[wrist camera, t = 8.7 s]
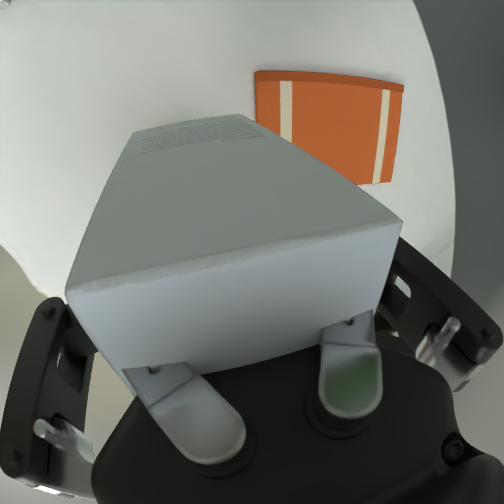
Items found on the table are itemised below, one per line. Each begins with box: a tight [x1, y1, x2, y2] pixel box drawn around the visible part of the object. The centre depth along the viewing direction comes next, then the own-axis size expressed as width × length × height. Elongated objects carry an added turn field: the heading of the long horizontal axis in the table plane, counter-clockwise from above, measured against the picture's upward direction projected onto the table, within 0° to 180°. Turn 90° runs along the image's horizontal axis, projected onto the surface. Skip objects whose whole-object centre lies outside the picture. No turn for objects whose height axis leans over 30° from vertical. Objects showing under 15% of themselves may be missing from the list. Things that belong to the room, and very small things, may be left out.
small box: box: [65, 114, 403, 398], centre depth 12 cm, size 8×6×13 cm
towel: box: [255, 71, 404, 185], centre depth 28 cm, size 13×18×1 cm
